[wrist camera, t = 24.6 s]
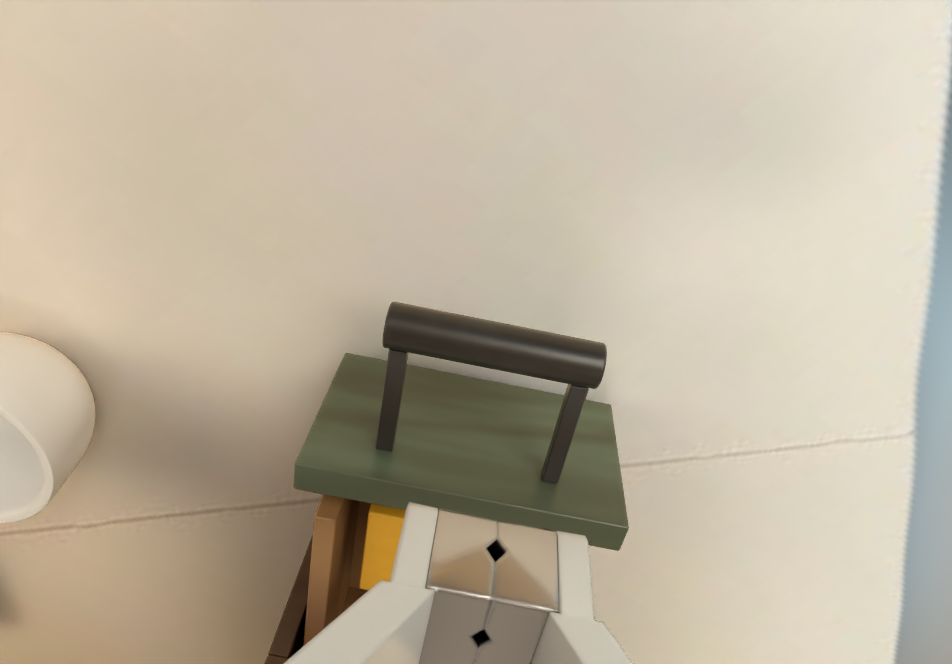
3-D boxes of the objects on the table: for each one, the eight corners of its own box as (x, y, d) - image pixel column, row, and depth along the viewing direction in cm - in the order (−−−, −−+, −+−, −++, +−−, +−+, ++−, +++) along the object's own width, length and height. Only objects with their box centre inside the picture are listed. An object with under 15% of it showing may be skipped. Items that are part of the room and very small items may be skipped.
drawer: (357, 226, 26) (302, 317, 20) (653, 286, 27) (686, 392, 21) (323, 573, 37) (280, 702, 30) (538, 613, 37) (537, 749, 31)
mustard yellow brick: (380, 507, 32) (358, 589, 28) (391, 434, 30) (368, 512, 26) (518, 533, 32) (515, 618, 28) (539, 462, 30) (538, 543, 26)
